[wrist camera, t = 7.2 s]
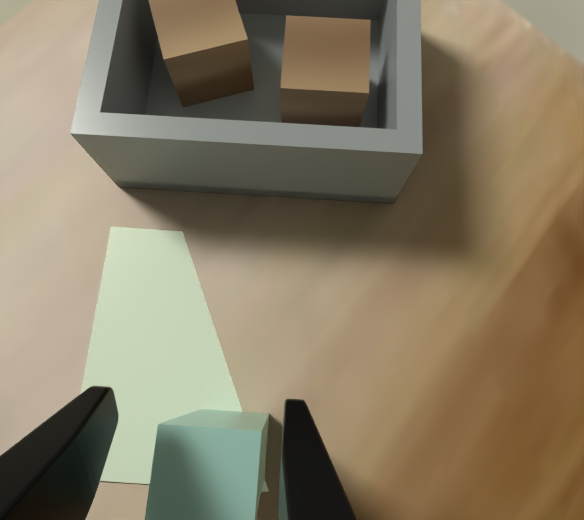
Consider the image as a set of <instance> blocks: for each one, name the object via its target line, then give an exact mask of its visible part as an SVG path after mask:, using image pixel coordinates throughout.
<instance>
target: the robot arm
mask: <svg viewBox="0 0 584 520" xmlns="http://www.w3.org/2000/svg"><path fill="white" fill-rule="evenodd" d="M118 418H119V414H118V409H117V404H116V400H115V395H114V391H113V389H112V388H111V387H108V386H91V387H89V388H88V389H86V390H85V391H84V392H82V393H81V394H80V395H79V396H77V397H76V398H75V399H73V400H72V401H71V402H69V403H68V404H67V405H66V406H64V407H63V408H62V409H60V410H59V411H58V412H57V413H55V414H54V415H53V416H51V417H50V418H49V419H47V420H46V421H45V422H44V423H42V424H41V425H40V426H38V427H37V428H36V429H34V430H33V431H32V432H31V433H29V434H28V435H27V436H25V437H24V438H23V439H22V440H20V441H19V442H18V443H16V444H15V445H14V446H12V447H11V448H10V449H9V450H7V451H6V452H5V453H3V454H2V455H1V456H0V520H85V519H86V516H87V514H88V512H89V509H90V507H91V504H92V502H93V499H94V497H95V494H96V491H97V488H98V485H99V482H100V479H101V476H102V472H103V469H104V466H105V463H106V460H107V456H108V453H109V450H110V447H111V444H112V440H113V437H114V434H115V431H116V428H117V424H118ZM278 520H357V519H356V516H355V514H354V512H353V510H352V507H351V505H350V503H349V500H348V498H347V496H346V494H345V491H344V489H343V487H342V484H341V482H340V480H339V477H338V475H337V473H336V471H335V468H334V466H333V464H332V461H331V459H330V457H329V455H328V452H327V450H326V448H325V445H324V443H323V441H322V438H321V436H320V434H319V432H318V429H317V427H316V425H315V422H314V420H313V418H312V416H311V413H310V411H309V409H308V406H307V404H306V402H305V401H304V400H300V399H286V400H285V404H284V417H283V430H282V443H281V461H280V479H279V497H278Z"/></svg>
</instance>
